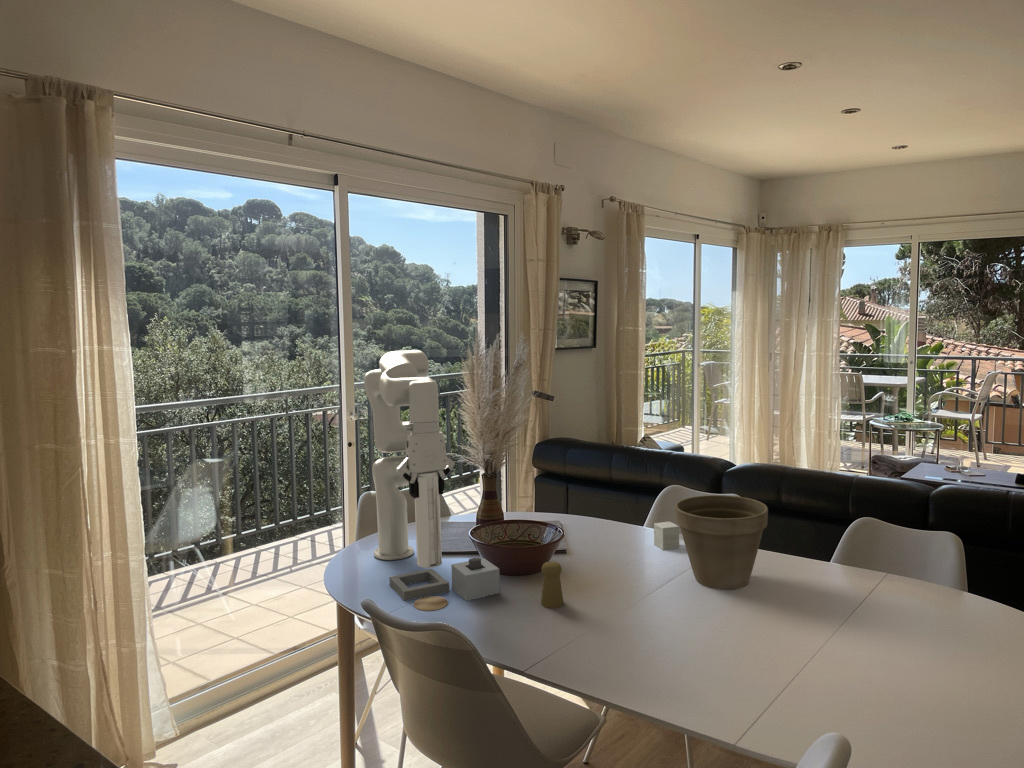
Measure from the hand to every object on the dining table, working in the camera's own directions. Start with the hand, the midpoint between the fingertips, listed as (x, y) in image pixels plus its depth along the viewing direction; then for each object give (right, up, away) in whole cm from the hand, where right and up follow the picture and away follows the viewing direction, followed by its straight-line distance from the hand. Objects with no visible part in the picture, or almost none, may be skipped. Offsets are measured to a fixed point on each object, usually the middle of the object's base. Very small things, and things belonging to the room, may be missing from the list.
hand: (427, 494), depth 191 cm
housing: (+12, -28, +11) cm, 33 cm away
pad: (+1, -29, +3) cm, 30 cm away
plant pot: (+81, -27, +15) cm, 87 cm away
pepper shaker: (+33, -29, +2) cm, 44 cm away
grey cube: (+72, -24, +45) cm, 88 cm away
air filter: (0, -19, +2) cm, 19 cm away
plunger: (+12, -24, +11) cm, 29 cm away
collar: (-4, -28, +14) cm, 32 cm away
